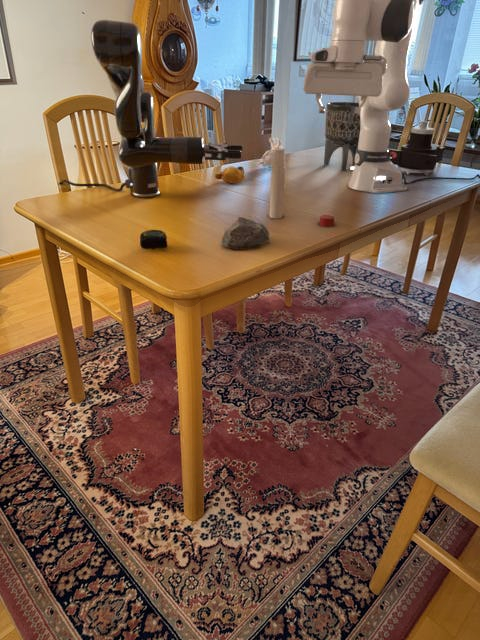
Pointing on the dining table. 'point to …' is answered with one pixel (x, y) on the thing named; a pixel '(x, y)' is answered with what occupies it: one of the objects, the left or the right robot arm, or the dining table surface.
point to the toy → (231, 174)
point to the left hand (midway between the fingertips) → (241, 151)
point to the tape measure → (153, 239)
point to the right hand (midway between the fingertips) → (339, 114)
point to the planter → (341, 131)
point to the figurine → (270, 154)
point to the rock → (245, 234)
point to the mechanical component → (418, 152)
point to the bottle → (277, 184)
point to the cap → (326, 220)
